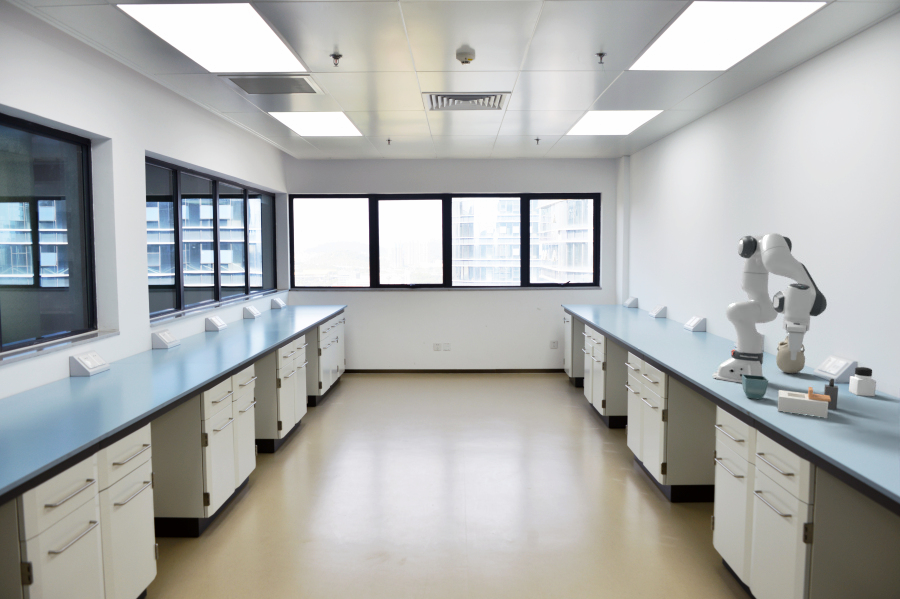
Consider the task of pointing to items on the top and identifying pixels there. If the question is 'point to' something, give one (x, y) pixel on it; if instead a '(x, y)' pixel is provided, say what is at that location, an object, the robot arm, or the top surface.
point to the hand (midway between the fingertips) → (793, 359)
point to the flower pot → (754, 386)
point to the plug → (831, 394)
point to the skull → (789, 358)
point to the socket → (801, 404)
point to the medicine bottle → (862, 382)
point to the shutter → (817, 396)
